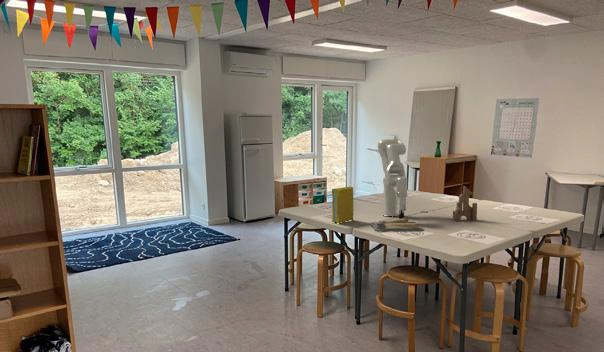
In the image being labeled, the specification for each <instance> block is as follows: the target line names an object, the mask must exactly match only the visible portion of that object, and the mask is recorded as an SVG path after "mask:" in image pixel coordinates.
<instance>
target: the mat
mask: <svg viewBox="0 0 604 352" xmlns="http://www.w3.org/2000/svg"><path fill="white" fill-rule="evenodd" d="M370 223H371V224H370V226H371V225H372V226H373V227H372V226H371V227H372V228H374V229H375V230H374V229H373V230H374V232H375V231H393V232H425V231H424V229H425V228H423V227H422V226H421V225H419V229H383V230H381V229H377V222H370ZM408 223H417V222H416V221H408Z"/></svg>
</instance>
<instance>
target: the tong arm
mask: <svg viewBox="0 0 604 352" xmlns="http://www.w3.org/2000/svg"><path fill="white" fill-rule="evenodd" d="M408 222H409V218H407V217H404V218H403V219H399V218H398V219H392V220H386V221H385V220H382V221H381V220H379V221H378V222H377V224H378V225H384V224H400V223H408Z"/></svg>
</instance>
